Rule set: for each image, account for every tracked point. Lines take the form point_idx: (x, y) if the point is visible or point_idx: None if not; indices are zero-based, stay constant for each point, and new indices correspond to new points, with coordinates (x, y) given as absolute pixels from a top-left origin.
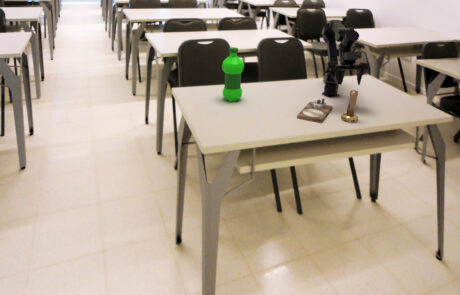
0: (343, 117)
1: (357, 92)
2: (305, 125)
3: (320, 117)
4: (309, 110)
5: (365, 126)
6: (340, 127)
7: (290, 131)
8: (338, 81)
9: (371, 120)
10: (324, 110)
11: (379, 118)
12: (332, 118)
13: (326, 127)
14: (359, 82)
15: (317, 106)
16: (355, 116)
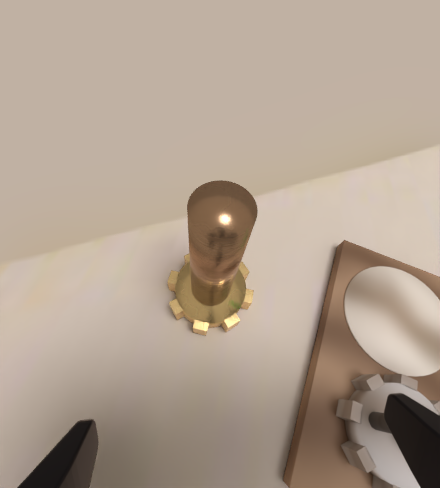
0: (246, 270)
1: (200, 187)
2: (395, 221)
3: (353, 264)
4: (424, 351)
5: (156, 227)
6: (263, 212)
7: (430, 176)
8: (424, 416)
9: (94, 296)
10: (341, 369)
11: (31, 330)
12: (289, 303)
13: (316, 210)
14: (74, 438)
15: (399, 374)
16: (184, 276)
